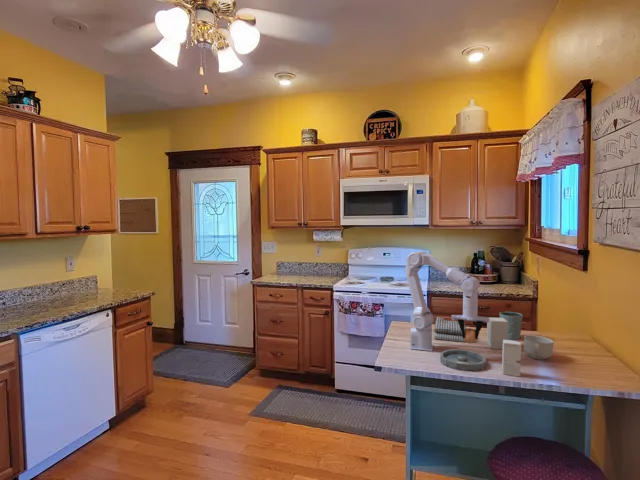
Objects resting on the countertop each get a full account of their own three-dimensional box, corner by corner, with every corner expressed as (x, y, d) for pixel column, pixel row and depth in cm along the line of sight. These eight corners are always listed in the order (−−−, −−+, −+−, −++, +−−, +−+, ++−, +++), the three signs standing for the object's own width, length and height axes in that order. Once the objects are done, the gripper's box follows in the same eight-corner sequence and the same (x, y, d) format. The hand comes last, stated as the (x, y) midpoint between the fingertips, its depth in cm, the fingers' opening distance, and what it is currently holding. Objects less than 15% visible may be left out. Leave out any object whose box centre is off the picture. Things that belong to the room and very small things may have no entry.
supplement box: (508, 349, 166) (508, 321, 165) (490, 348, 167) (490, 320, 167) (503, 344, 173) (503, 317, 173) (486, 343, 175) (486, 316, 174)
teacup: (528, 350, 164) (528, 332, 164) (556, 356, 156) (556, 338, 156) (517, 359, 154) (517, 340, 154) (547, 366, 147) (547, 346, 146)
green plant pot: (497, 338, 182) (497, 314, 181) (501, 333, 190) (501, 310, 189) (520, 342, 176) (521, 317, 175) (523, 336, 184) (523, 312, 184)
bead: (464, 342, 154) (464, 330, 154) (464, 339, 159) (464, 327, 158) (476, 343, 153) (476, 331, 153) (475, 340, 157) (475, 328, 157)
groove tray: (440, 367, 145) (440, 361, 145) (440, 353, 162) (440, 347, 161) (487, 373, 140) (487, 366, 140) (483, 357, 156) (483, 351, 156)
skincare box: (502, 374, 139) (503, 342, 138) (501, 370, 143) (502, 339, 142) (521, 376, 136) (521, 344, 136) (519, 372, 141) (520, 340, 140)
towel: (433, 340, 181) (433, 324, 180) (434, 330, 198) (434, 315, 198) (467, 343, 176) (467, 327, 175) (465, 332, 193) (465, 317, 193)
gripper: (452, 307, 153) (451, 339, 154) (490, 309, 149) (490, 342, 150) (451, 303, 160) (451, 334, 161) (488, 305, 156) (487, 337, 156)
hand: (469, 338), depth 156 cm, fingers closed on bead, 4 cm apart
